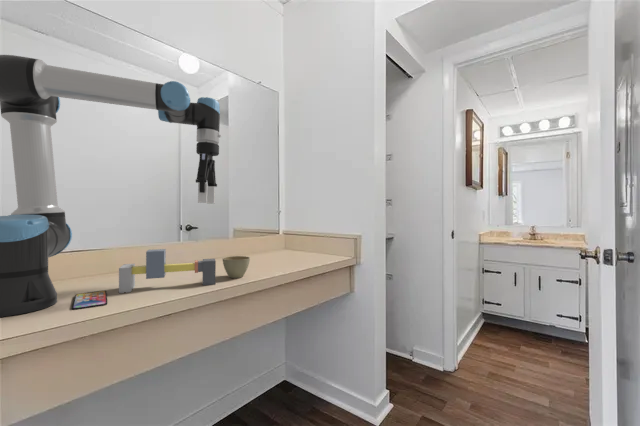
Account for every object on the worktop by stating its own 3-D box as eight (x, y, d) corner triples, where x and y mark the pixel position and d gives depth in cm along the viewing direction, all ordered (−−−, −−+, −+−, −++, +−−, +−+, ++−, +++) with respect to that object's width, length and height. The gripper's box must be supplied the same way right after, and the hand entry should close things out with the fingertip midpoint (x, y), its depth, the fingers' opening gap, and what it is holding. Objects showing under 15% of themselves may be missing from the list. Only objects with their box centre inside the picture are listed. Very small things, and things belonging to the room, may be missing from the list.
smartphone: (71, 308, 74) (75, 294, 86) (71, 312, 74) (75, 297, 87) (107, 303, 79) (106, 290, 91) (107, 307, 79) (106, 293, 91)
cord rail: (118, 293, 90) (118, 266, 90) (124, 287, 96) (124, 262, 96) (215, 285, 100) (215, 261, 100) (214, 280, 107) (214, 258, 107)
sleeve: (146, 278, 93) (146, 251, 93) (148, 275, 98) (148, 249, 98) (164, 277, 95) (164, 251, 95) (165, 274, 100) (165, 249, 100)
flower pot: (242, 280, 107) (242, 260, 107) (217, 278, 109) (217, 259, 109) (254, 274, 117) (254, 256, 117) (230, 273, 119) (230, 255, 119)
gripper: (212, 135, 95) (210, 202, 95) (224, 150, 119) (223, 204, 119) (187, 134, 93) (185, 201, 94) (204, 149, 118) (203, 203, 118)
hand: (206, 203), depth 106 cm, fingers open, 13 cm apart
